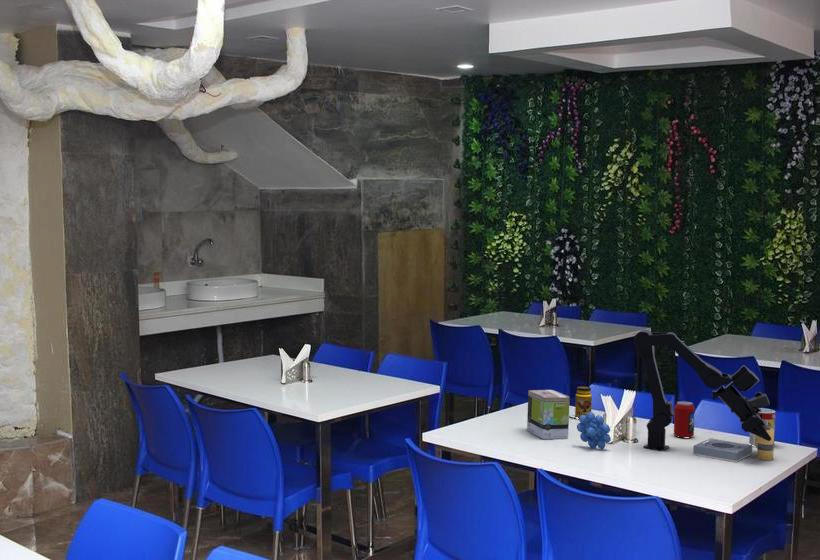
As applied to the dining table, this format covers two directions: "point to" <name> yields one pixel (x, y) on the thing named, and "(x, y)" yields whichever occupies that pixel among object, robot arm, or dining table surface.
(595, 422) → the grapes
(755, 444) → the canned food
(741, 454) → the grey square holder
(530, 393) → the tea box
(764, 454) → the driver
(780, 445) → the dining table surface
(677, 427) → the beverage can
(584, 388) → the condiment
